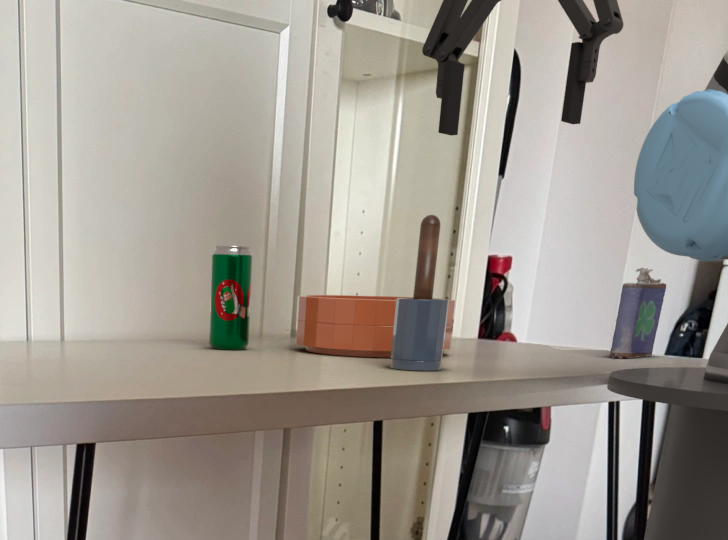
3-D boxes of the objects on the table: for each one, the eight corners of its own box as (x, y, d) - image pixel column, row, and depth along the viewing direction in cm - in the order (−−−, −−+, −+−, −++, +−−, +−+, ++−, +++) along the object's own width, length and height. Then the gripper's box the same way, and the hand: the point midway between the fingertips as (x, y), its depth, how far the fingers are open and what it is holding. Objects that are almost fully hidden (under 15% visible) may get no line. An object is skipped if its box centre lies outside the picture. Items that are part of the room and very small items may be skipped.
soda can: (227, 346, 135) (230, 246, 130) (256, 349, 132) (261, 246, 127) (200, 347, 132) (203, 245, 127) (230, 350, 129) (234, 245, 124)
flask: (623, 358, 131) (640, 267, 127) (602, 357, 133) (617, 267, 129) (656, 356, 137) (673, 268, 133) (635, 354, 139) (651, 268, 135)
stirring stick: (429, 359, 111) (445, 215, 105) (418, 359, 110) (434, 214, 104) (413, 357, 112) (428, 215, 107) (403, 358, 111) (417, 214, 105)
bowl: (478, 354, 132) (485, 300, 129) (388, 361, 119) (394, 301, 117) (356, 344, 145) (360, 294, 142) (263, 349, 132) (266, 295, 129)
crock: (450, 369, 111) (459, 299, 108) (421, 371, 108) (429, 300, 105) (409, 365, 115) (416, 297, 112) (379, 367, 111) (386, 298, 108)
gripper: (687, -151, 92) (643, 121, 100) (440, -90, 107) (420, 141, 116) (656, -178, 87) (612, 112, 95) (402, -110, 102) (383, 134, 110)
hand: (506, 128), depth 105 cm, fingers open, 13 cm apart
